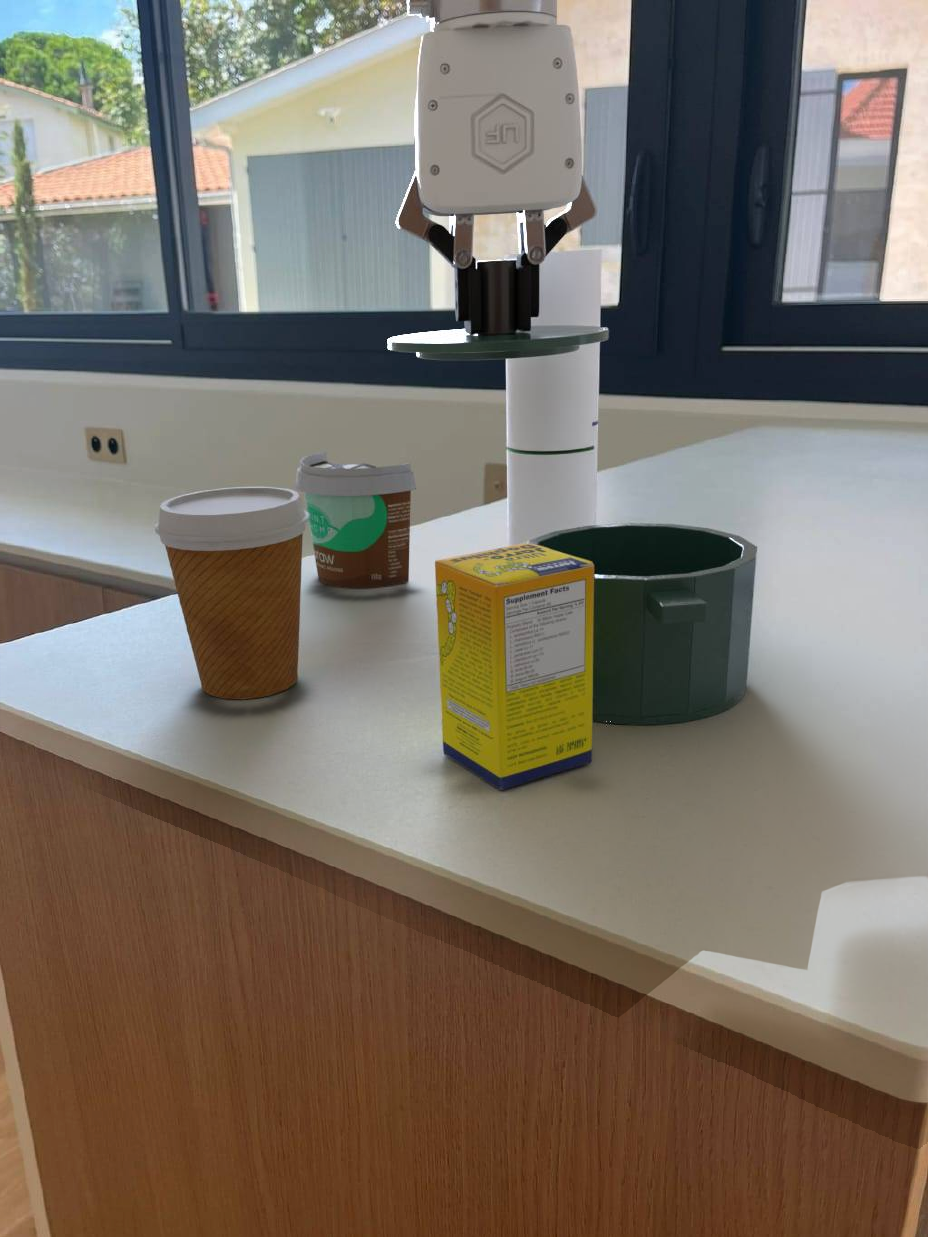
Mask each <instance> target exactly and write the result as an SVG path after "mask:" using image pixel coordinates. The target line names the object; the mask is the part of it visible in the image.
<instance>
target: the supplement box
mask: <svg viewBox="0 0 928 1237" xmlns="http://www.w3.org/2000/svg"><path fill="white" fill-rule="evenodd" d="M434 570H435V572H434V573H435V575H434V576H435V592H436V593H435V594H436V596H435V597H436V614H437V615H436V616H437V618H436V619H437V622H436V623H437V638H438V639H437V642H438V658H439V659H438V664H439V665H438V666H439V686H440V708H441V709H440V710H441V726H442V727H441V731H442V751H443V755H444V756H445V757H447V758H449V759H450V760H452V761H454V762H456V763H457V764H459V765H461V767H463V768H465V769H466V770H468V771H469V772H471V773H472V774H474V775H476V776H477V777H478V778H480V779H482V780H483V781H485V782H487V784H489V785H491V786H493V787H495V788H497V789H498V790H499V791H504V790H507V789H511V788H514V787H517V786H520V785H523V784H525V783H529V782H531V781H534V780H538V779H541V778H544V777H549V776H551V775H554V774H558V773H560V772H565V771H567V770H571V769H573V768H577V767H580V766H583V765H584V766H585V765H588V764H591V763H592V761H593V721H592V706H593V701H592V699H593V614H594V564H593V562H591V561H588V560H585V559H582V558H578V557H575V556H571V555H568V554H565V553H562V552H558V551H555V550H552V549H549V548H546V547H543V546H540V545H536V544H533V543H523V544H518V545H513V546H508V545H507V546H504V547H499V548H493V549H489V550H484V551H478V552H474V553H468V554H463V555H458V556H452V557H447V558H441V559H436V560H435V561H434Z"/></svg>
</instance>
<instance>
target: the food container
mask: <svg viewBox="0 0 928 1237" xmlns="http://www.w3.org/2000/svg"><path fill="white" fill-rule="evenodd" d="M299 465H300V466H298V467H297V470H296V480H295V489H297V490H298V491H300V492H302V493H303V494H304V500H305V505H306V511H307V512H308V513H309V520H308V524H309V530H310V537H311V541H312V542H311V543H312V548H313V554H314V561H315V567H316V573H317V578H318V581H319V582H321V583H323V584H324V585H328V586H331V587H335V588H336V587H337V588H342V589H343V588H345V589H374V588H375V589H376V588H384V587H391V586H397V585H402V584H406V583H409V582H410V580H409V579H410V542H411V541H410V539H411V534H410V533H411V496H412V494H411V493H412V491H413V490H417V486H416V480H415V475H414V474H415V473H414V471H412V463H411V462H407V463H402V464H395V465H388V466H387V465H386V466H375V465H373V464H369V463H366V462H362V463H361V462H358V463H349V464H347V463H346V464H345V463H344V464H343V463H336V462H331V461H330V462H329V460H328V452H327V450H326V451H321V452H317V453H313V454H309V455H307V456H304V457H303V458H300V461H299Z"/></svg>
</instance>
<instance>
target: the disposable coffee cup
mask: <svg viewBox="0 0 928 1237" xmlns="http://www.w3.org/2000/svg"><path fill="white" fill-rule="evenodd" d="M158 514H159V515H158V516H159V517H158V522H157V523H155V525H154V531H155V533H156V535H158V536H159V539H160V542H161V543H162V544H163V545H164V547H165V551H166V554H167V558H168V563H169V566H170V570H171V574H172V578H173V580H174V586H175V588H176V593H177V597H178V601H179V604H180V608H181V612H182V615H183V620H184V623H185V626H186V627H185V628H186V632H187V635H188V640H189V642H190V646H191V650H192V654H193V658H194V661H195V665H196V669H197V673H198V677H199V680H200V686H201V689H202V691H203V692H204V693H206V694H208V695H209V696H212V697H215V698H220V699H229V700H248V699H249V700H250V699H255V698H264V697H269V696H271V695H275V694H278V693H281V692H284V691H286V690H289V688H291V687H293V686H294V685H295V684H296V683H297V682H298V676H299V673H298V671H299V647H300V645H299V644H300V625H301V624H300V623H301V621H300V620H301V619H300V618H301V593H302V591H301V590H302V586H301V585H302V563H303V562H302V561H303V560H302V559H303V537H304V532H305V531H306V528H307V527H306V526H307V523H308V522H309V513H308V512H307V509H304V507H303V502H302V499H301V496H300V494H299V492H298V491H296V490H293V489H290V488H286V487H285V488H284V487H275V486H233V487H224V488H215V489H213V488H212V489H206V490H200V491H194V492H190V493H189V492H188V493H184V494H181V495H178V496H174V497H171V498H168V499H166V500H164V501H162V502H161V504H160V505H159V513H158Z"/></svg>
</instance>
